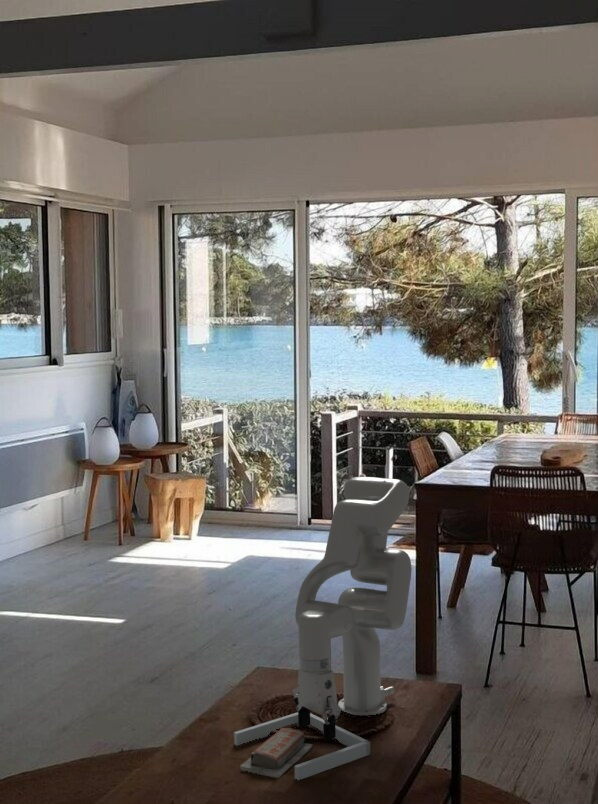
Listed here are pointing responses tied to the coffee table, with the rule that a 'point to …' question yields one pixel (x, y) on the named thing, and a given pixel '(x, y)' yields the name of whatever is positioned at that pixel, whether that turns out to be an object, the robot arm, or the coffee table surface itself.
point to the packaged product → (277, 753)
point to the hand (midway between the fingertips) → (316, 732)
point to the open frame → (352, 752)
